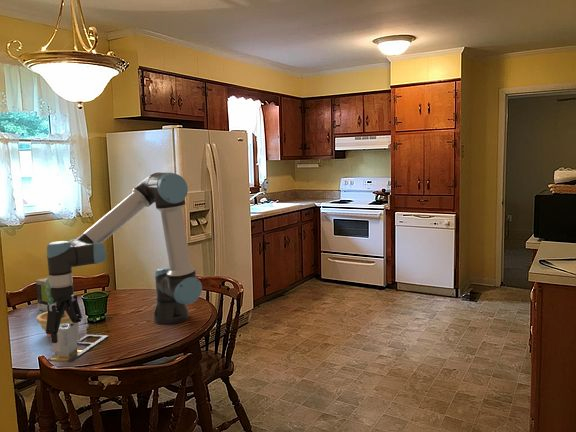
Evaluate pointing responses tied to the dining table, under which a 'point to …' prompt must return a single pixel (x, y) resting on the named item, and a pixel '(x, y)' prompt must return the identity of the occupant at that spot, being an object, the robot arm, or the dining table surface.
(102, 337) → the grey flat rectangular frame
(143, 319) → the dining table surface
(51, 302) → the potted cactus
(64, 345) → the grey rectangular block
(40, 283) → the tea box
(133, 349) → the dining table surface
